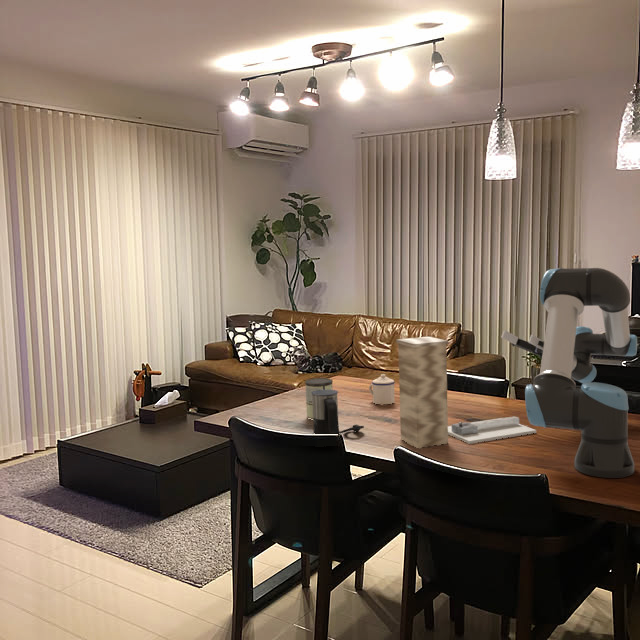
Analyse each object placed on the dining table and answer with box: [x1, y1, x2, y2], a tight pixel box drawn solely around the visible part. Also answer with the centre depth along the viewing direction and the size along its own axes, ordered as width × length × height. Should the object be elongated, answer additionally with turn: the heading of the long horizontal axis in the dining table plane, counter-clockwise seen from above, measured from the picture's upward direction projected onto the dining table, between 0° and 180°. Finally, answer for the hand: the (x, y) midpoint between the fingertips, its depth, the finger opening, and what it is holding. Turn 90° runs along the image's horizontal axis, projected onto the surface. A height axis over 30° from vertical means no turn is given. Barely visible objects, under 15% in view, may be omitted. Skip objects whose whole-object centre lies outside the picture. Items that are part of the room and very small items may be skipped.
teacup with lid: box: [368, 373, 396, 405], centre depth 271 cm, size 12×9×12 cm
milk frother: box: [311, 389, 365, 435], centre depth 228 cm, size 14×16×15 cm
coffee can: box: [304, 377, 334, 419], centre depth 250 cm, size 10×10×14 cm
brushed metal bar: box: [451, 415, 520, 436], centre depth 224 cm, size 24×6×4 cm, turn 111°
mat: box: [448, 417, 537, 445], centre depth 224 cm, size 26×18×1 cm
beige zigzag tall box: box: [395, 336, 450, 449], centre depth 214 cm, size 12×12×33 cm
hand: (516, 336), depth 224 cm, fingers open, 13 cm apart
